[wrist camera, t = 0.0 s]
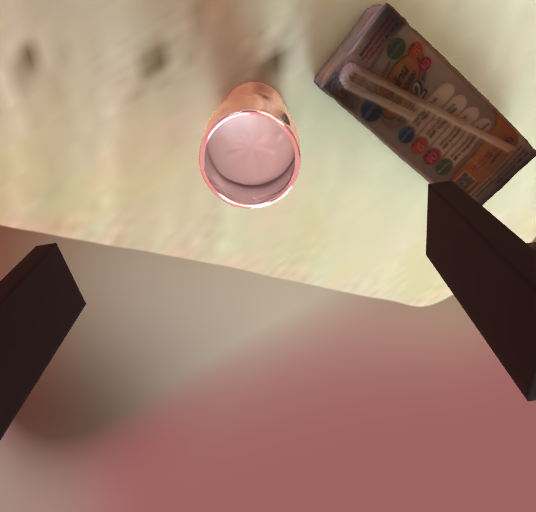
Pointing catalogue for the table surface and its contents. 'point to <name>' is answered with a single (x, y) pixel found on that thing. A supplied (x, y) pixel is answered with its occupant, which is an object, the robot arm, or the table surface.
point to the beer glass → (250, 148)
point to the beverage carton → (423, 106)
